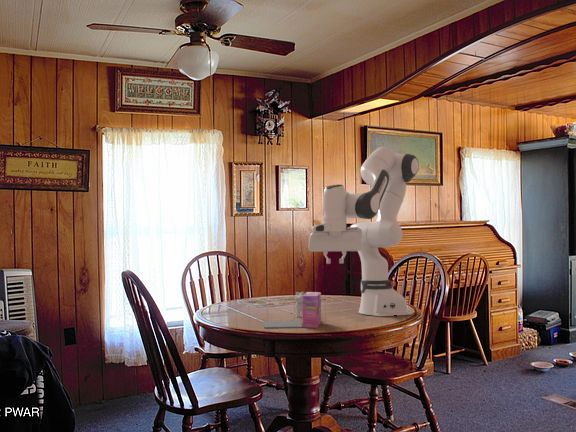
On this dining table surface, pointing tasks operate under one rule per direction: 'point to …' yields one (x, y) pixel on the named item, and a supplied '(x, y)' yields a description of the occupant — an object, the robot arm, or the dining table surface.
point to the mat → (283, 324)
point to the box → (311, 309)
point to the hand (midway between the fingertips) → (335, 263)
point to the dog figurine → (299, 303)
